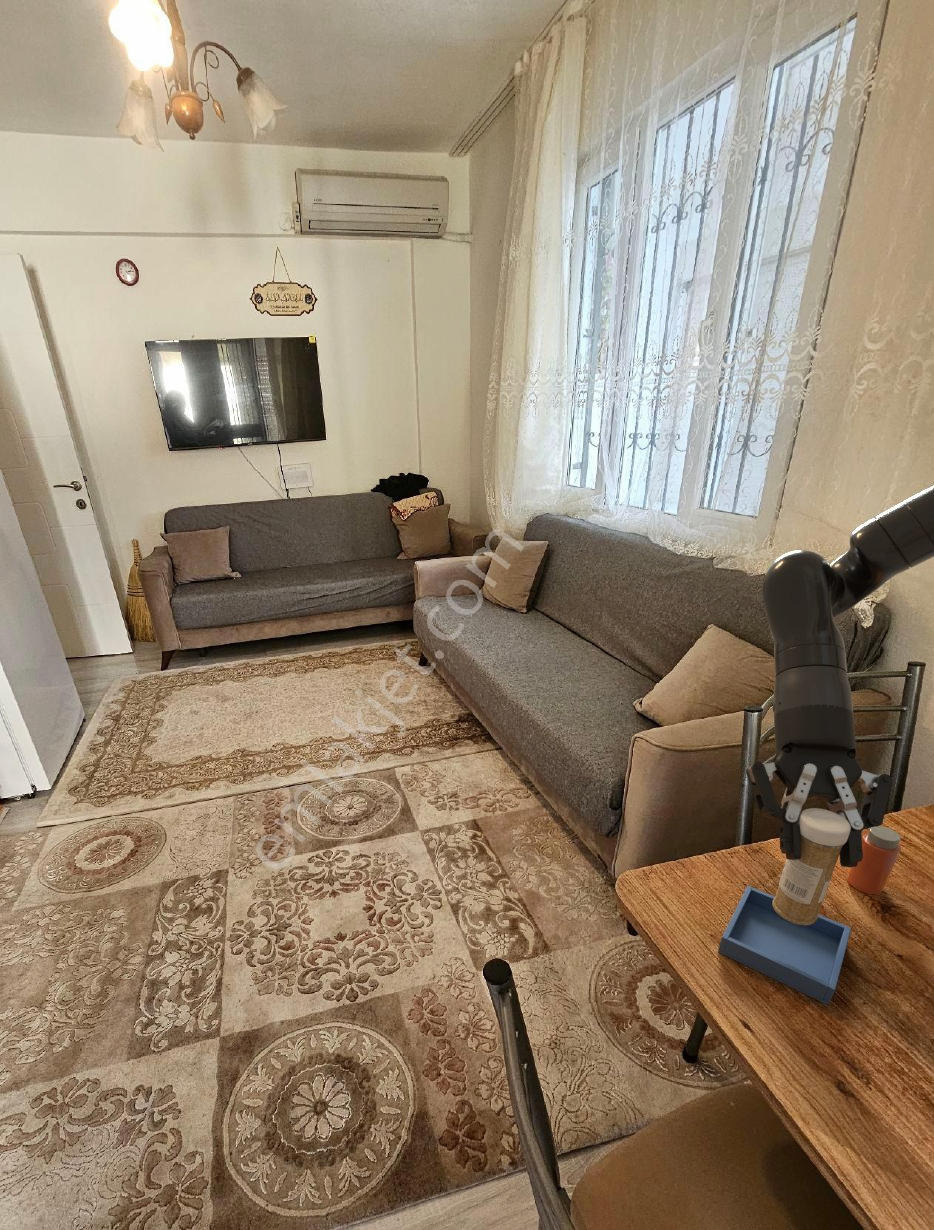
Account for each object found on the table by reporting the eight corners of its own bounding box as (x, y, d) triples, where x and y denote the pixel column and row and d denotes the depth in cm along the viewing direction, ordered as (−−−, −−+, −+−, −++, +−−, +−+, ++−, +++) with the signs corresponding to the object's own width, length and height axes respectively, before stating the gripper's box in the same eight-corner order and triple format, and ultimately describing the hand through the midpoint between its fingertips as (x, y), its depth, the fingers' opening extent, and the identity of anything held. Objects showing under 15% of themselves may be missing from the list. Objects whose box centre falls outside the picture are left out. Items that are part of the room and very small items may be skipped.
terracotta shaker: (884, 882, 79) (906, 831, 75) (881, 899, 76) (903, 847, 72) (849, 869, 81) (868, 820, 77) (844, 885, 79) (864, 834, 75)
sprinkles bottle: (826, 922, 66) (863, 828, 60) (792, 930, 65) (826, 835, 59) (793, 894, 70) (825, 803, 64) (761, 901, 69) (790, 810, 63)
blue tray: (845, 942, 70) (851, 927, 69) (828, 1006, 63) (835, 990, 62) (743, 899, 77) (747, 885, 76) (717, 952, 70) (721, 936, 69)
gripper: (754, 697, 65) (759, 850, 60) (904, 707, 62) (922, 870, 57) (733, 718, 72) (736, 856, 67) (866, 728, 69) (879, 875, 64)
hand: (821, 862), depth 62 cm, fingers closed on sprinkles bottle, 4 cm apart
